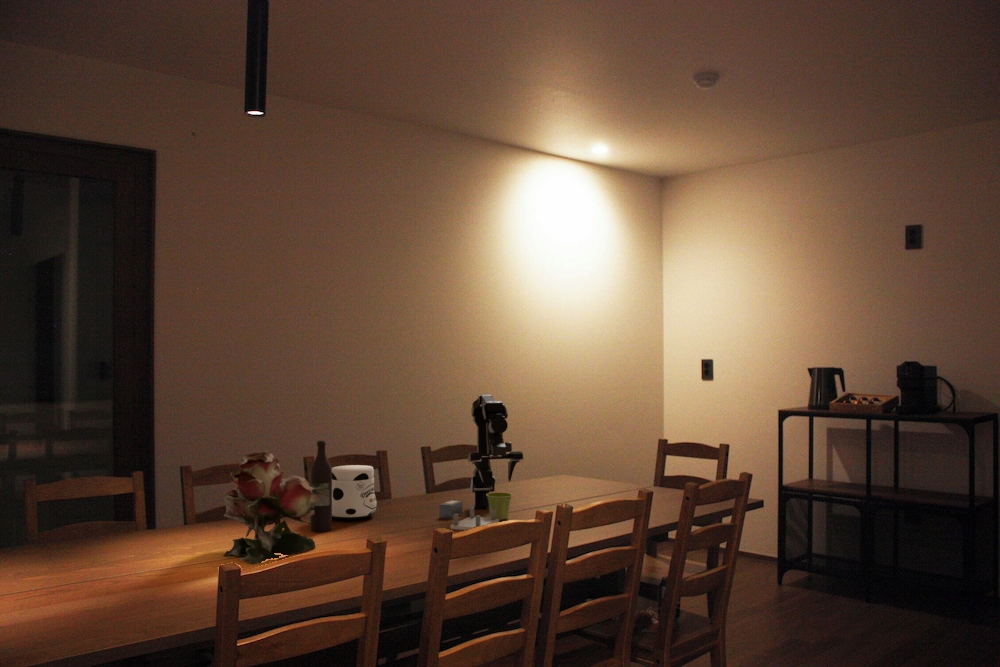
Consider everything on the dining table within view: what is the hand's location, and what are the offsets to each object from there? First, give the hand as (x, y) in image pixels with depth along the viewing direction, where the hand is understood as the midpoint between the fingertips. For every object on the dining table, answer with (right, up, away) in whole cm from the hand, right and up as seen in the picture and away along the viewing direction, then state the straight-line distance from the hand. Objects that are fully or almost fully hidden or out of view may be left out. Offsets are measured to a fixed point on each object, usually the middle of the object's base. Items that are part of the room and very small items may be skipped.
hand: (496, 481), depth 276 cm
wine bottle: (-59, -15, -8) cm, 61 cm away
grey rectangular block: (-17, -16, +15) cm, 27 cm away
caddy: (-7, -15, -2) cm, 17 cm away
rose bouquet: (-70, -14, -35) cm, 80 cm away
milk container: (-52, -16, +13) cm, 56 cm away
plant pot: (+1, -15, +10) cm, 18 cm away
